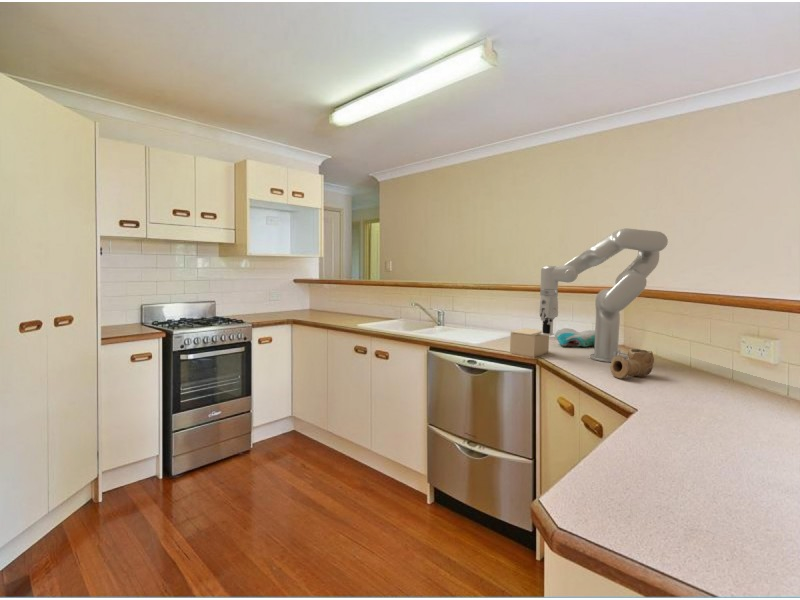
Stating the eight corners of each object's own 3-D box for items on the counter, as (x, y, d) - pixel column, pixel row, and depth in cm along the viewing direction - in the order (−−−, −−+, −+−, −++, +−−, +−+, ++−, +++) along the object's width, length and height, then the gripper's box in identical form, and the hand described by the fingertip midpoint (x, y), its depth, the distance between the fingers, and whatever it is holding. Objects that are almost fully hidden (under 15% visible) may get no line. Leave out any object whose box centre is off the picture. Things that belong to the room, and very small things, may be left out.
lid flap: (558, 333, 192) (559, 320, 191) (544, 337, 181) (545, 323, 181) (525, 329, 204) (526, 317, 203) (510, 332, 193) (511, 320, 192)
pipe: (606, 375, 157) (607, 350, 156) (636, 372, 162) (638, 347, 161) (626, 382, 148) (628, 355, 147) (658, 378, 154) (660, 351, 153)
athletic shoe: (554, 348, 211) (565, 333, 203) (551, 335, 218) (562, 320, 210) (602, 360, 212) (615, 345, 204) (598, 346, 218) (610, 332, 211)
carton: (548, 352, 196) (549, 332, 195) (533, 357, 185) (534, 336, 185) (525, 348, 205) (525, 329, 204) (510, 353, 194) (510, 333, 193)
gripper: (549, 294, 178) (547, 336, 180) (564, 292, 190) (562, 331, 191) (533, 293, 184) (531, 333, 185) (548, 291, 195) (547, 330, 196)
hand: (547, 332), depth 188 cm, fingers closed on lid flap
